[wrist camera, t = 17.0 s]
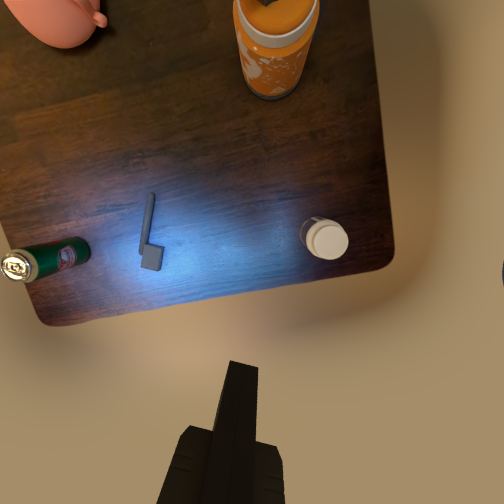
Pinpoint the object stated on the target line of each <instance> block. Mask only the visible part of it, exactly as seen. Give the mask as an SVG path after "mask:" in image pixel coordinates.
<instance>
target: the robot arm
mask: <svg viewBox="0 0 504 504" xmlns="http://www.w3.org/2000/svg"><path fill="white" fill-rule="evenodd" d="M257 387H258V367H254V366H250V365H246V364H243V363H239V362H234V361H231V360H230V362H229V366H228V370H227V374H226V377H225V381H224V385H223V389H222V392H221V396H220V400H219V404H218V408H217V413H216V417H215V422H214V426H213V430H212V431H210V430H207V429H203V428H198V427H195V426H191V425H190V426H189V427H188V428H187V429H186V430H185V431H184V432H183V434H182V435H181V436H180V438H179V441H178V444H177V447H176V450H175V453H174V455H173V458H172V461H171V464H170V466H169V469H168V472H167V475H166V478H165V481H164V483H163V487H162V489H161V492H160V495H159V497H158V501H157V503H156V504H285V495H284V481H283V465H282V459H281V457H280V454H279V452H278V449H277V447H276V446H273V445H269V444H265V443H261V442H257V441H256V416H257V415H256V414H257V389H258V388H257Z"/></svg>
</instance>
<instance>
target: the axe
mask: <svg viewBox="0 0 504 504" xmlns="http://www.w3.org/2000/svg"><path fill="white" fill-rule="evenodd" d="M154 198H155V196H154V194H153V193H149V194H148V195H147V200H146V206H145V213H144V219H143V226H142V232H141V239H140V245H139V254H140V255H143V256H142V262H141V267H142V268H146V269H150V270H154V271H159V270H160V269H161V263H162V258H163V252H164V247H161V246H157V245H154V244H150V243H147V242H148V235H149V229H150V223H151V217H152V211H153V204H154Z"/></svg>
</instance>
